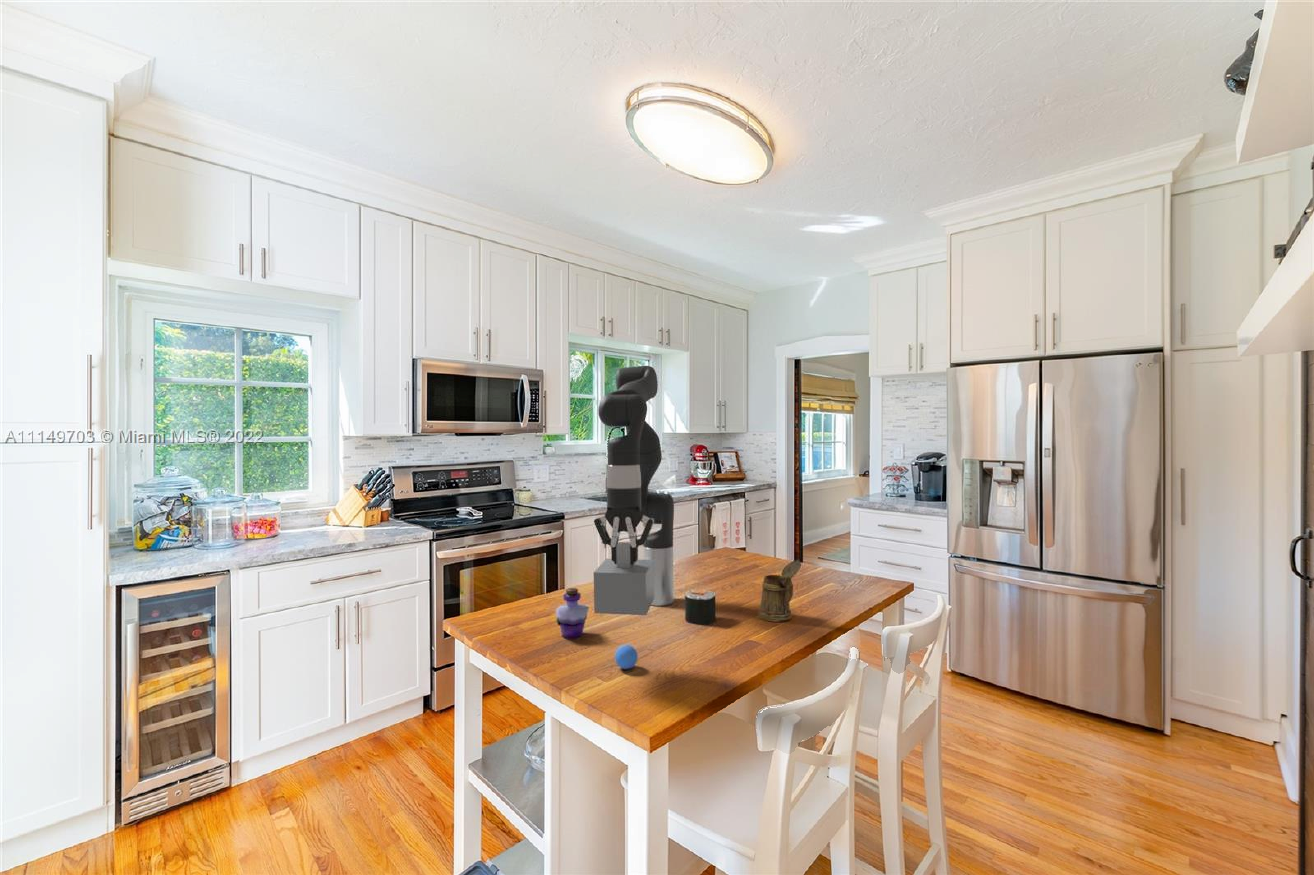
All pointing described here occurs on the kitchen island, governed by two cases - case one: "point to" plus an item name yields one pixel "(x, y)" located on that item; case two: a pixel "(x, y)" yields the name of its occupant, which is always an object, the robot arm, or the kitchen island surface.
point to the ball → (626, 657)
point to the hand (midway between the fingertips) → (624, 563)
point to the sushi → (700, 607)
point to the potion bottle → (572, 615)
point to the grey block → (624, 584)
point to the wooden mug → (778, 594)
